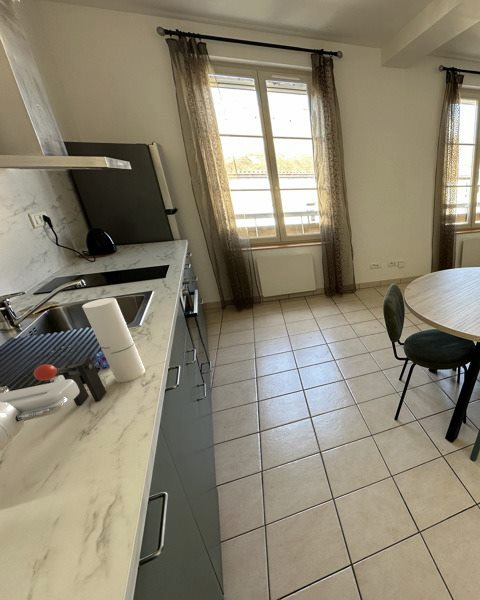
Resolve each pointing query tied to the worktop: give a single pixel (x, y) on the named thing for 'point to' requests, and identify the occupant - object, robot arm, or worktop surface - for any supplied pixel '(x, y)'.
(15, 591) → the worktop surface
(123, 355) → the cylindrical container
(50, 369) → the lever
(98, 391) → the toaster bracket
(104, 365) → the pudding
